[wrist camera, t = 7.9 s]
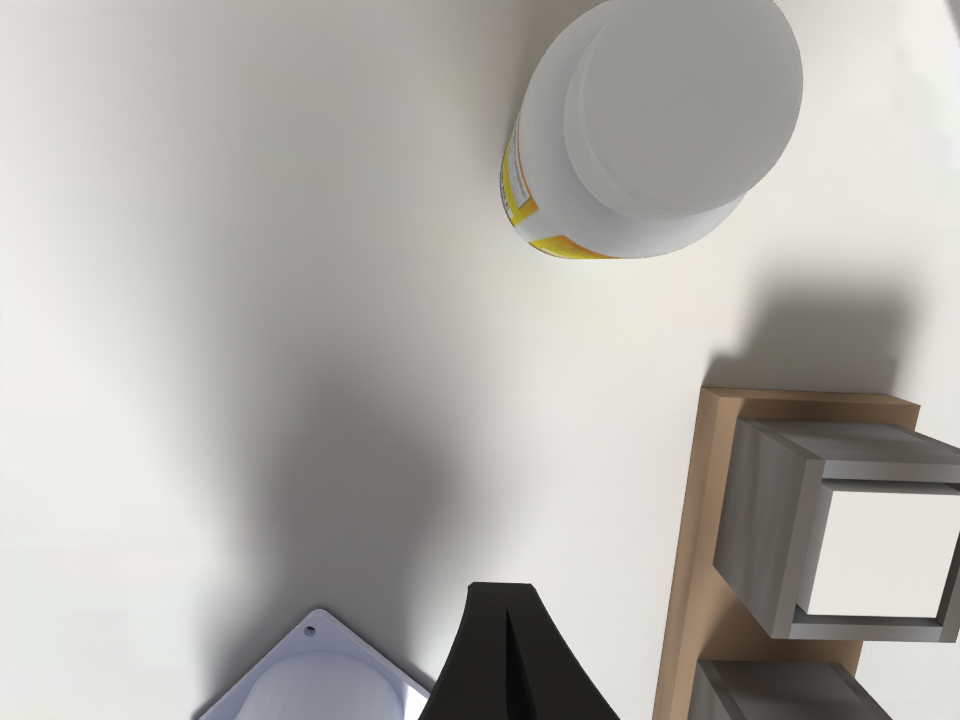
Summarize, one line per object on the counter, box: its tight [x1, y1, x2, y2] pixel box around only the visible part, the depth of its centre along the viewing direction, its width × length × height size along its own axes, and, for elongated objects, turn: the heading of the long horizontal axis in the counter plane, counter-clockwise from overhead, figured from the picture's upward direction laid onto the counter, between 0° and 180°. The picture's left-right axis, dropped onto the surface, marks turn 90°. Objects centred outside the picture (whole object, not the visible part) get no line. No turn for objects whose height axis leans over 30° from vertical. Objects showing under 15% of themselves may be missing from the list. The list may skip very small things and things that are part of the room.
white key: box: [796, 478, 960, 618], centre depth 17 cm, size 4×4×2 cm
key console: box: [652, 387, 960, 720], centre depth 20 cm, size 8×19×6 cm, turn 177°
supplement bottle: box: [500, 0, 803, 259], centre depth 14 cm, size 6×6×10 cm
